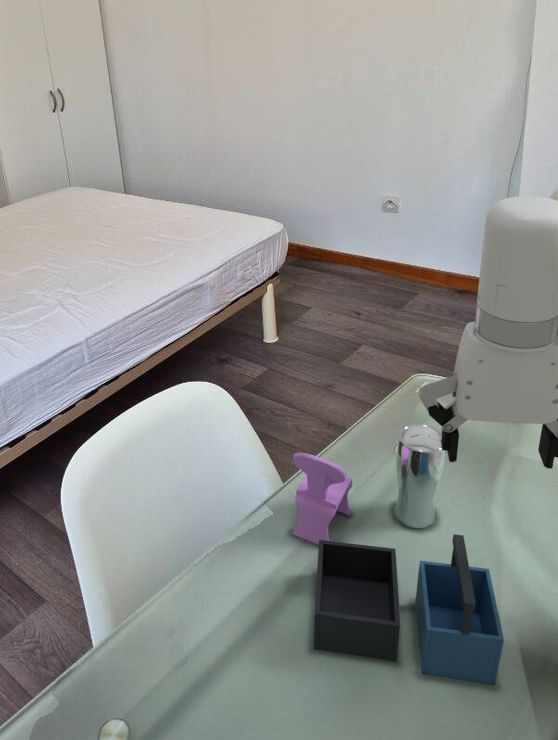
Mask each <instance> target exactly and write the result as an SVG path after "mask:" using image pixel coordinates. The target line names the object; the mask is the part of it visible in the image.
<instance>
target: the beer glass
mask: <svg viewBox="0 0 558 740" xmlns="http://www.w3.org/2000/svg"><path fill="white" fill-rule="evenodd" d="M441 437H442V431H441V430H439V429H438V428H436V427H433V426H432V425H428V424H423V423H414V424H409V425H406V426H404V427H403V428H402V429H400V431H399V435H398V440H397V441H398V442H397V446H396V453H395V474H396V480H397V481H396V482H397V489H398V496H397V500H396V503H395V505H394V510H393V512H394V516H395V518H396V519H397V520H398V521H399V523H401V524H402V525H404V526H406V527H409V528H412V529H426V528H428V527H430V526H432V525H433V524H434V522H435V520H436V511H435V510H436V509H435V499H436V495H437V493H438V490H439V487H440V485H441V482H442V479H443V476H444V473H445V466H446V458H447V457H446V456H447V455H446V454H447V451H445V450H442V446H441Z"/></svg>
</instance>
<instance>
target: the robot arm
mask: <svg viewBox="0 0 558 740" xmlns="http://www.w3.org/2000/svg"><path fill="white" fill-rule="evenodd" d="M475 306H476V307H475V317H474V321H470V322H468V323H467V324H466V325H465V326H464V330H463V332H462V335H461V339H460V341H459V346H458V350H457V354H456V359H455V364H454V368H453V374H452V375H451V376H448V377H446V378H443V379H439V380H436V381H433V382H431V383H428V384H426V385H423V386H421V387H419V389H418V395H419V399H420V401H421V403H422V404H423V406H424V408H425V410H426V411H427V412H428V415H429V417H430V418H432V419H433V420H434V421H435V422H436V423H437V424H438V425H440V426H441V432H442V437H441V446H442V450H445V451H446V453H447V455H448V462H449V463H455V462H457V460H458V450H459V440H460V432H459V428H460V426H462V425H463V424H464V423H466V422H467V421H476V422H491V423H492V422H493V423H508V424H509V423H511V424H531V425H533V424H534V425H541V432H540V437H539V441H538V442H539V443H538V454H539V456H540V459H541V462H542V464H543V467H544V468H546V469H548V470H549V469H551V470H552V469H553V467H554V462H555V458H558V187H557V188H556V189H554V190H553V192H552V193H551V194H550V196H549V197H544V196H537V195H536V196H534V195H520V196H510V197H506V198H503V199H500V200H498V201H497V202H495V203H494V204H492V206H491V207H490V208H489V210H488V211H487V213H486V216H485V223H484V230H483V240H482V250H481V259H480V268H479V278H478V287H477V297H476V305H475ZM449 395H452V397H453V398H454V399H453V400H452V401H450V402H449V403H448V404H447V405H446V406H445V407H444V405H442V404H441V403H440V402H439V401H437V399H439V398H441V397H444V396H449Z"/></svg>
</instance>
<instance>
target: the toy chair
mask: <svg viewBox="0 0 558 740" xmlns="http://www.w3.org/2000/svg"><path fill="white" fill-rule="evenodd" d="M292 463H293V465H294V466H295V467H296V468H298V469H299V470H301V471H302V472H303V473H304V474H305V475H306V476H305V478H304V479H303V480H302V482H301V483H300V484H299V486H298V487H297V488H296V491H295V504H296V508H297V512H298V518H297V522H296V525H295V527H294V529H293V530H292V532H291V535H294V536H296V537H298V538H300V539H303V540H306V541H308V542H311V543H313V544H315V545H318V546H319V540H323V541H324V540H326V541H330V538H329V537H330V536H329V525H330V524H331V521H332V520H333V518H334V517H335V515H336V513H337V512H339V513H341V514H344V515H346V516H351V514H352V513H351V510H350V505H349V500H348V499H349V498H348V496H349V491H350V490H351V489H352V487H353V478H352V477H351V478H350V477H348V476H347V472H346V470H345V469H343V467H341V466H340V465H338V464H337V463H334V462H332V461H330V460H328V459H326V458H323V457H320V456H317V455H314V454H311V453H306V452H295V453H293V456H292Z"/></svg>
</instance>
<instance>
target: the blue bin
mask: <svg viewBox="0 0 558 740" xmlns="http://www.w3.org/2000/svg"><path fill="white" fill-rule="evenodd" d="M452 535H453V536H452V553H451V554H452V555H451V561H450V563H445V562H436V561H428V560H419V565H418V575H417V583H416V590H415V591H416V592H415V601H414V606H415V618H416V628H417V640H418V651H419V665H420V674H421V675H427V676H432V677H433V676H434V677H439V678H446V679H452V680H458V681H465V682H471V683H478V684H483V685H489V686H490V685H491V686H495V685H496V683H497V677H498V672H499V668H500V662H501V658H502V657H501V656H502V652H503V649H504V648H503V647H504V643H505V639H504V634H503V633H504V632H503V628H502V624H501V619H500V614H499V610H498V605H497V601H496V596H495V590H494V586H493V581H492V578H491V571H490V568H484V567H477V566H470V564H469V558H468V553H467V548H466V542H465V537H464V535H463V534H455V533H454V534H452Z"/></svg>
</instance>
